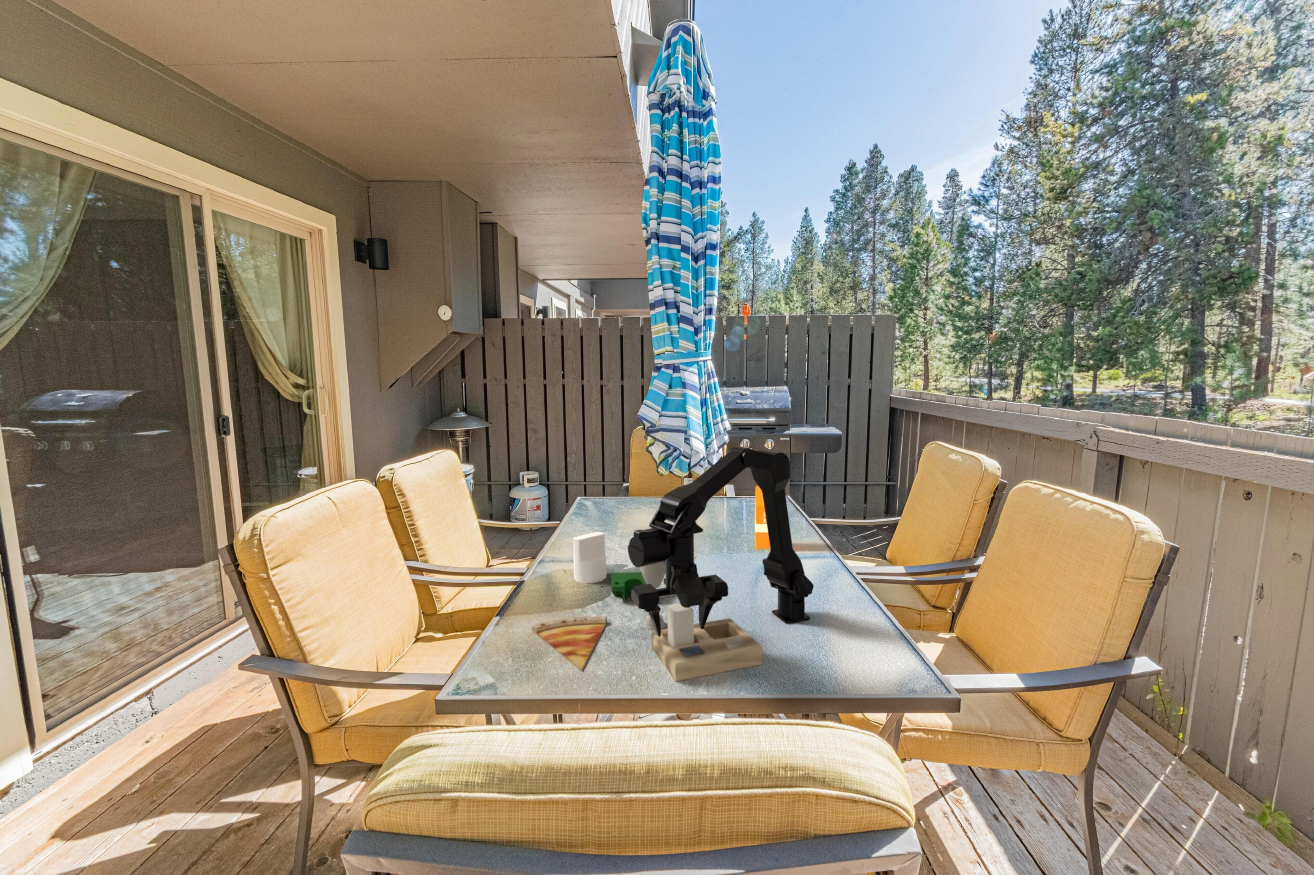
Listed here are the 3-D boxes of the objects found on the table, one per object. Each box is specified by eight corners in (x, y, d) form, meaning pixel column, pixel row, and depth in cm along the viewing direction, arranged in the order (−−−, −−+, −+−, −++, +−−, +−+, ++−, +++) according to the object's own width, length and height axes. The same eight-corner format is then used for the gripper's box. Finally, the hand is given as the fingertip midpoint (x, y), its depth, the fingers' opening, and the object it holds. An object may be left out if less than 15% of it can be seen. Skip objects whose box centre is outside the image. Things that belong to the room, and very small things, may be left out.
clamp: (619, 617, 145) (604, 589, 141) (620, 602, 150) (605, 575, 147) (663, 599, 143) (649, 571, 140) (662, 585, 149) (648, 558, 146)
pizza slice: (503, 669, 112) (503, 659, 112) (541, 620, 134) (541, 612, 134) (581, 673, 110) (581, 663, 110) (607, 623, 132) (607, 615, 132)
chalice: (634, 621, 132) (632, 544, 130) (661, 615, 134) (660, 541, 132) (646, 634, 125) (645, 554, 123) (674, 628, 128) (673, 549, 126)
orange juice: (754, 543, 190) (755, 483, 187) (782, 544, 188) (782, 484, 186) (755, 550, 182) (755, 488, 180) (783, 551, 181) (784, 488, 179)
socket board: (651, 647, 119) (651, 630, 119) (730, 633, 125) (730, 616, 124) (675, 681, 106) (675, 662, 105) (762, 664, 112) (762, 645, 111)
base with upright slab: (586, 585, 154) (584, 542, 153) (567, 577, 161) (566, 535, 159) (612, 577, 160) (611, 535, 158) (594, 569, 167) (593, 529, 165)
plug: (668, 652, 117) (667, 605, 116) (686, 649, 118) (685, 602, 117) (675, 661, 113) (674, 613, 112) (693, 658, 114) (693, 609, 113)
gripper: (647, 576, 103) (648, 659, 105) (741, 563, 109) (740, 642, 111) (629, 557, 113) (631, 633, 115) (716, 547, 119) (716, 618, 121)
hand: (680, 632), depth 115 cm, fingers open, 9 cm apart
